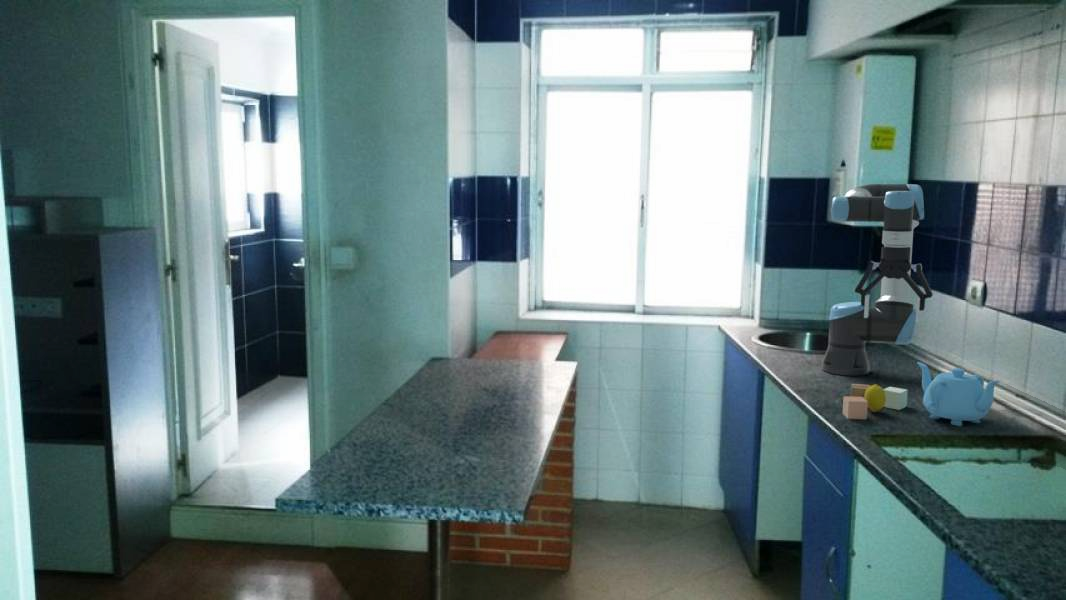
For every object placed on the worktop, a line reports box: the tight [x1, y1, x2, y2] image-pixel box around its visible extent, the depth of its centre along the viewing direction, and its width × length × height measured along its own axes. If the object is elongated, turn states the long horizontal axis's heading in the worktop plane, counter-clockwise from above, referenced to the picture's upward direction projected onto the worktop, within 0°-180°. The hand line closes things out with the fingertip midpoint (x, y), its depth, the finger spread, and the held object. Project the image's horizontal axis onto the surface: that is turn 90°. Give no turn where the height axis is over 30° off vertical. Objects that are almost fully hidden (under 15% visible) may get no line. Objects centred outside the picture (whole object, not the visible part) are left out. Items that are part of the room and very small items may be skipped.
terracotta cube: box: [842, 395, 868, 420], centre depth 218 cm, size 5×5×5 cm
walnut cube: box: [850, 383, 871, 398], centre depth 231 cm, size 5×5×5 cm
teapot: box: [916, 361, 1001, 427], centre depth 214 cm, size 16×20×14 cm
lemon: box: [864, 383, 886, 413], centre depth 221 cm, size 6×6×8 cm
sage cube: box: [882, 386, 908, 411], centre depth 227 cm, size 5×5×5 cm
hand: (891, 319), depth 229 cm, fingers open, 13 cm apart
